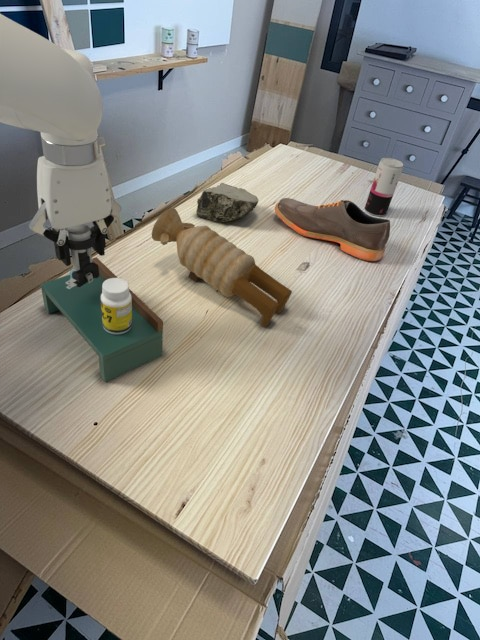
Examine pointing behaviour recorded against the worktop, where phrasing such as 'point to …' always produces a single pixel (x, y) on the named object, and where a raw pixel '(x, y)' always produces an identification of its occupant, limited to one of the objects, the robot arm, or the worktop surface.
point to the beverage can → (383, 186)
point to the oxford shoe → (338, 226)
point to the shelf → (87, 319)
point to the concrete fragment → (225, 203)
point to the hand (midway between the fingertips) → (81, 255)
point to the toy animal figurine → (221, 264)
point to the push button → (81, 255)
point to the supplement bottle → (116, 306)
